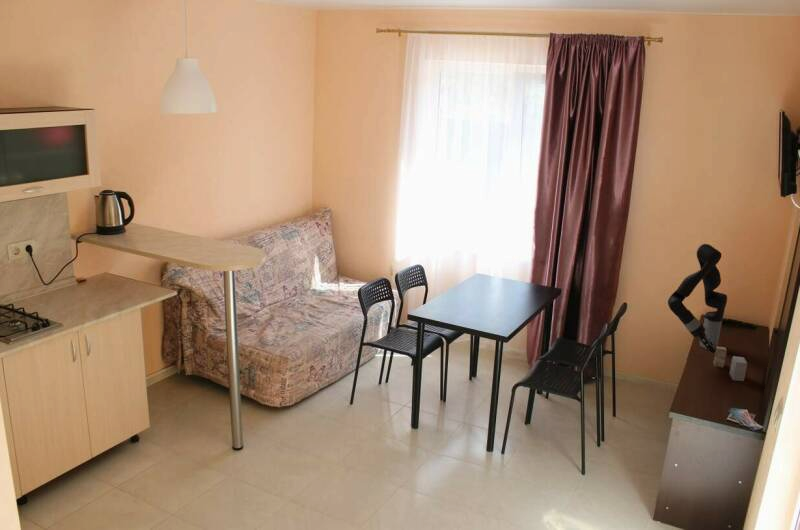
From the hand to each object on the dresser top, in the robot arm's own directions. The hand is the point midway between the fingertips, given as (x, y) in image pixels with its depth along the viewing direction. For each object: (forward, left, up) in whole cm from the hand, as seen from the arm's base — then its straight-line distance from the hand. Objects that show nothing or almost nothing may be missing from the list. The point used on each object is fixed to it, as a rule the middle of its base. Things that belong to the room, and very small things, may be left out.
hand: (712, 348), depth 389 cm
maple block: (0, +4, -9) cm, 10 cm away
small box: (+13, +11, -9) cm, 20 cm away
